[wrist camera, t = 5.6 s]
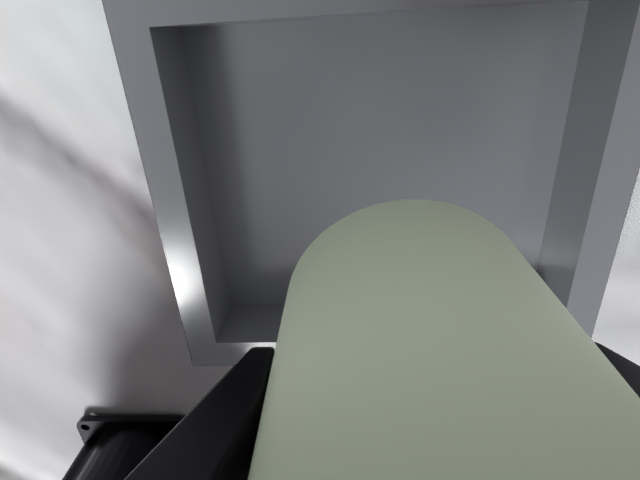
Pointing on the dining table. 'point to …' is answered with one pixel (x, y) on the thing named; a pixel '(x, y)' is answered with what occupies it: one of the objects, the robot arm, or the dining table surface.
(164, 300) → the dining table surface
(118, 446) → the robot arm
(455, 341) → the pale green cylinder
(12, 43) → the dining table surface
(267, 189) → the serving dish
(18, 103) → the dining table surface
